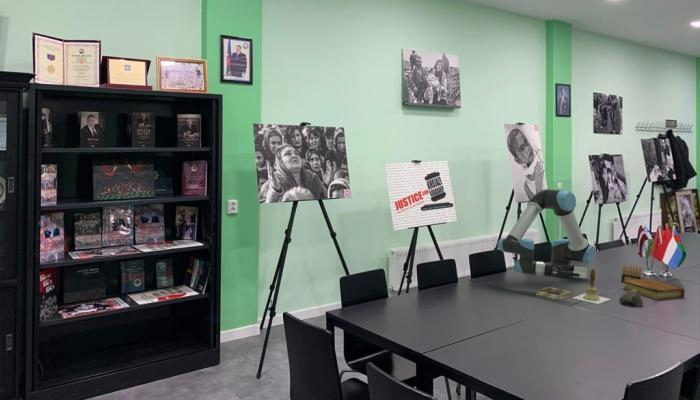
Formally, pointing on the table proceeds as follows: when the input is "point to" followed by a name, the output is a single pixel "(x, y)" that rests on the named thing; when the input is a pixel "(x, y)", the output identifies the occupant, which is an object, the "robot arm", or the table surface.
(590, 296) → the hand bell
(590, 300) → the mat
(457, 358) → the table surface
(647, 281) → the diary
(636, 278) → the ammunition clip
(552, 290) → the bell cradle
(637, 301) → the fossil
